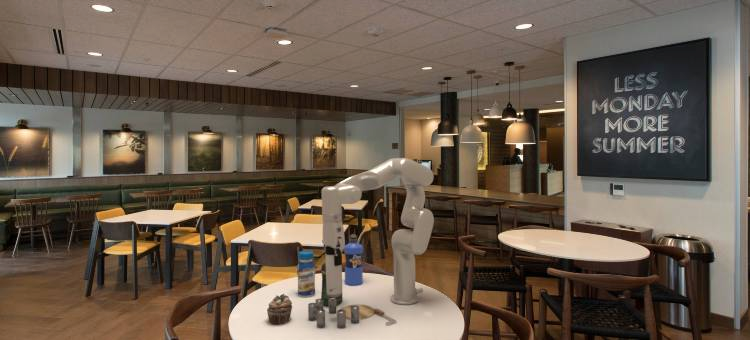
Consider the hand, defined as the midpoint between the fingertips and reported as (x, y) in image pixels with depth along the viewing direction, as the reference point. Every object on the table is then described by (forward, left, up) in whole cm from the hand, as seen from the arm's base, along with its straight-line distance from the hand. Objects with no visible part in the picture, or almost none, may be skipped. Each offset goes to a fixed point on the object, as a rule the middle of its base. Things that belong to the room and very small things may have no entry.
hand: (333, 262), depth 156 cm
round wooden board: (-11, -1, -23) cm, 25 cm away
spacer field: (+1, 0, -23) cm, 23 cm away
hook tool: (-16, +11, -23) cm, 29 cm away
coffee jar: (-8, -16, -23) cm, 29 cm away
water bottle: (-31, -34, -23) cm, 52 cm away
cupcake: (+18, -12, -23) cm, 31 cm away
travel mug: (0, 0, -13) cm, 13 cm away
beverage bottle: (-4, -33, -23) cm, 40 cm away
